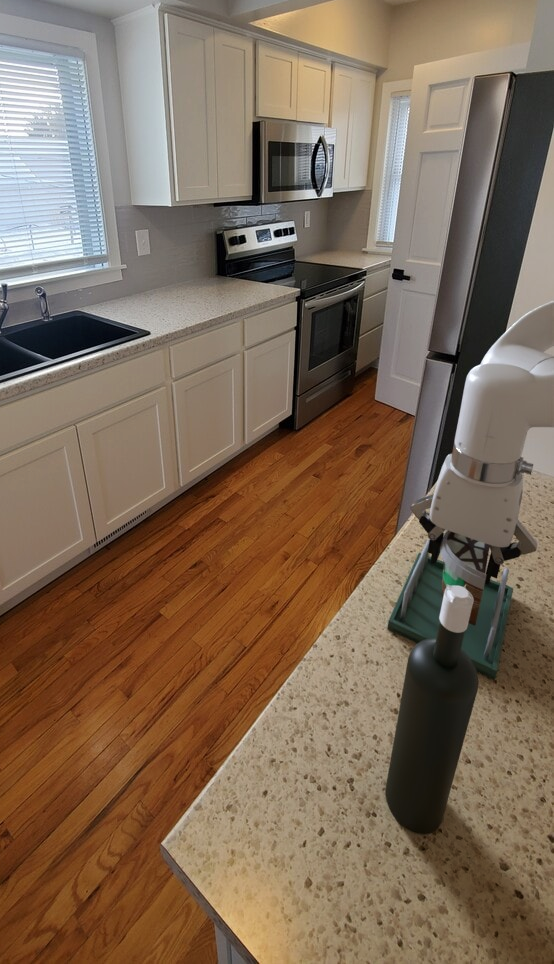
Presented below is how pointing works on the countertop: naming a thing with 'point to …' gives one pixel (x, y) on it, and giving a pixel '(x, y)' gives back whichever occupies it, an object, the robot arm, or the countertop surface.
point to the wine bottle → (432, 719)
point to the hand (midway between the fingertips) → (460, 566)
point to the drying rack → (423, 607)
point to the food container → (464, 566)
